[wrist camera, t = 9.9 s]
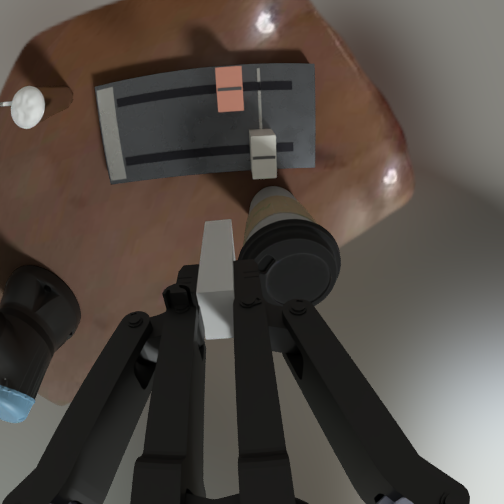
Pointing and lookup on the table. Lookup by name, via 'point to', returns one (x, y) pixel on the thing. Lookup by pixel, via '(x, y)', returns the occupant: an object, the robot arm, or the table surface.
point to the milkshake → (38, 104)
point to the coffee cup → (289, 249)
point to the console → (204, 121)
